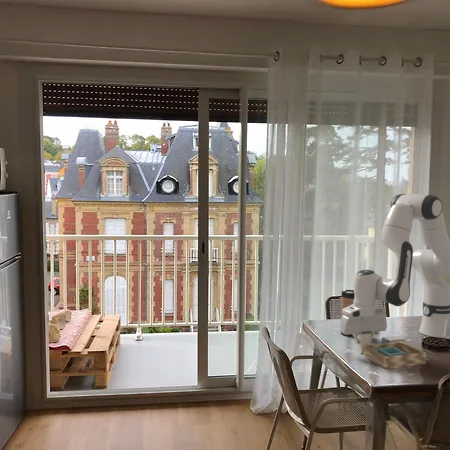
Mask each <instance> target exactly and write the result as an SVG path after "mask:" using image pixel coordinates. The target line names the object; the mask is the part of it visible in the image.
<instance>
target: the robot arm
mask: <svg viewBox="0 0 450 450" xmlns="http://www.w3.org/2000/svg"><path fill="white" fill-rule="evenodd" d="M414 220H417V227H418V230H419V236H420V241H421V242H422V245H424V246H426V247H427V248H422V249H420V248H419V249H416V250H414V249H413V245H412V244H411V237H410V236H411V232H412V227H413V221H414ZM380 239H381V241H382V243H383V244H384V246H385V247H387V249H389V250H390V251H391V252H393V253H394V254H395V256H396V269H395V277H394V279H392V278H388V277H383V276H381V275H379V274H377V273H376V272H375V271H374V270H373V269H372V270H371V269H363V270H359V271H357V272H356V273H355V276H354V281H353V290H354V295H355V297H354V301H353V304H352V305H350V306H348V307H346V308H343V309H342V313H343V314H344V315H343V316H342V317H341V316H340V322H339V323H340V327H339V328H340V329H339V330H340V333H341V332H342V333H343V334H346V335H348V334H353V336H352V337H353V338H354V343H355V344H360V339H358V337H357V336H358V333H362V332H365V331H371V340H370V344H371V343H372V342H373V341H372V340H373V338H374V336H375V333H376V332H377V333H378V332H379V333H380V332H386V330H387V329H388V326H387V325H388V324H387V321H388V320H387V312H386V310H385V309H384V308H377V307H376V305H377V304H376V303H377V301H376V300H379V301H381V302H384V303H388V304H390V305H392V306H394V307H401V306H403V305H404V304H406V303H407V302H408V300H409V299H410V298H411V297H410V296H411V274H412V268H413V269H414V270H415V271H416V272H417V273H418V274H419V276H420V278H421V281H422V284H423V292H424V293H423V295H424V296H423V302H422V312H423V313H422V318H421V323H420V327H419V328H418V332H419V333H421V334H422V335H424V336H428V337H433V338H439V339H440V338H442V339H447V340H450V285H449V284H448V283H446V282H445V281H444V280H443V278H441V275H442V276H449V277H450V237H449V234H448V231H447V227H446V221H445V217H444V214H443V202H442V201H441V199H440V198H439V197H438V196H436V195H433V194H424V193H408V194H407V193H399V194H396V195H395V196H394V197H393V198H392V200H391V201H390V209H389V211H388V213H387V215H386V218H385V220H384V222H383V227H382V230H381V238H380Z"/></svg>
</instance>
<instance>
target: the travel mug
mask: <svg viewBox="0 0 450 450" xmlns="http://www.w3.org/2000/svg"><path fill="white" fill-rule="evenodd" d="M340 297H341V299H340V318H341V317H342V316H343V315H344V314H343V313H342V309H343V308H346V307H348V306H350V305H352V304H353V301H354V297H355V295H354V289H346V290H341V296H340ZM340 334H341V335H342V336H345V337H354V336H353V334H348V335H346V334H343V333H342V332H341V331H340Z"/></svg>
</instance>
